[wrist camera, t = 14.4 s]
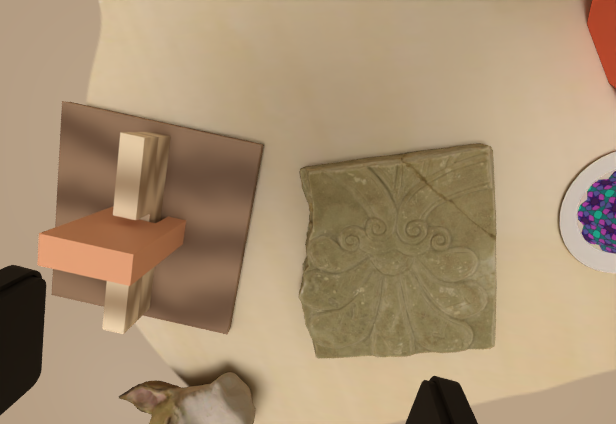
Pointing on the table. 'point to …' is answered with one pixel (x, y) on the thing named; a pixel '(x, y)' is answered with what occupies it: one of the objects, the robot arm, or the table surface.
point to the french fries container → (604, 34)
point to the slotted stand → (159, 212)
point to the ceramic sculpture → (195, 402)
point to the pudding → (592, 216)
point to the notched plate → (110, 246)
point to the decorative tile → (401, 253)
